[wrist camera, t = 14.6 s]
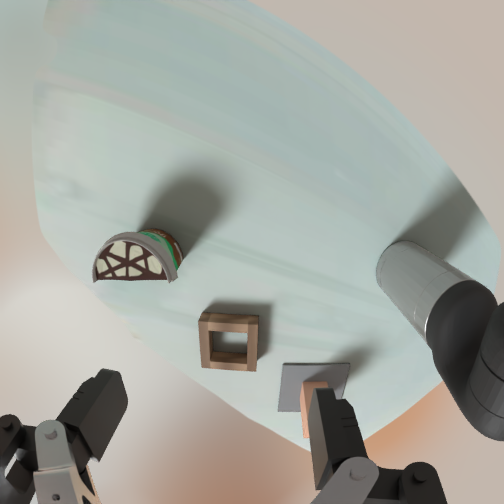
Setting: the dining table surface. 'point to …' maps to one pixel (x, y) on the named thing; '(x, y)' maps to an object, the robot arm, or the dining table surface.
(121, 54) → the dining table surface
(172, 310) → the dining table surface
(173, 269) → the food container
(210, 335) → the walnut pocket
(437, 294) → the robot arm
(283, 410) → the rubber mat
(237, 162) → the dining table surface
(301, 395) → the terracotta block
